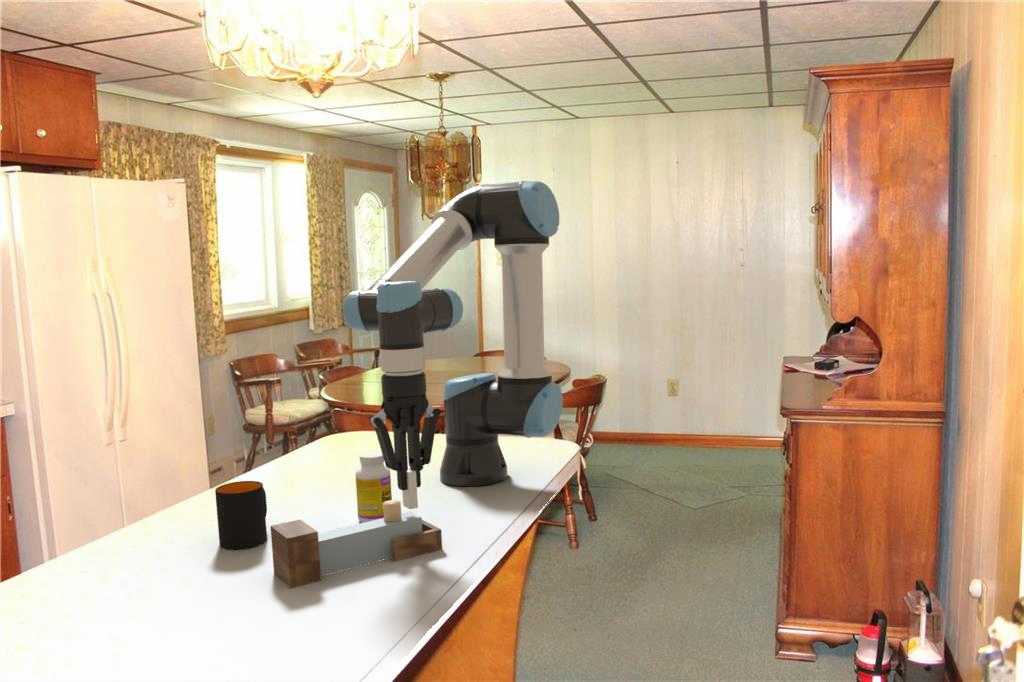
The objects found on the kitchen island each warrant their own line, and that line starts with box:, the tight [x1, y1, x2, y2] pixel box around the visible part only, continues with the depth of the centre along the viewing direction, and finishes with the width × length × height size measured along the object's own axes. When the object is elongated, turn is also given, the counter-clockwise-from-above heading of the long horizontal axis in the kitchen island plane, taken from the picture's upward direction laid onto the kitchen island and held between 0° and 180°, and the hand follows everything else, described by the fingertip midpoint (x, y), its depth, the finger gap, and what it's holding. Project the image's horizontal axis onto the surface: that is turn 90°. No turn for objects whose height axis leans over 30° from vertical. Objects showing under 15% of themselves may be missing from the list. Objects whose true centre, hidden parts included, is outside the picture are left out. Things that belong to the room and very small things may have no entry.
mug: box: [214, 480, 268, 551], centre depth 160 cm, size 8×12×10 cm
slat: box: [318, 499, 423, 577], centre depth 147 cm, size 19×4×9 cm, turn 124°
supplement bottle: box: [355, 451, 393, 523], centre depth 169 cm, size 7×7×13 cm
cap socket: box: [270, 519, 322, 589], centre depth 141 cm, size 5×8×8 cm, turn 33°
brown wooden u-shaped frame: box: [391, 519, 443, 562], centre depth 152 cm, size 9×8×4 cm
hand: (410, 506), depth 152 cm, fingers closed
